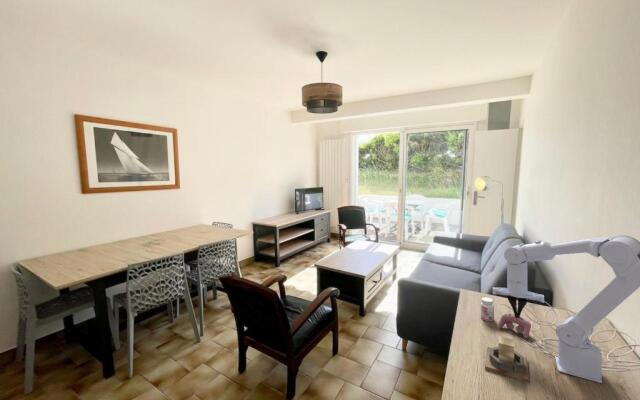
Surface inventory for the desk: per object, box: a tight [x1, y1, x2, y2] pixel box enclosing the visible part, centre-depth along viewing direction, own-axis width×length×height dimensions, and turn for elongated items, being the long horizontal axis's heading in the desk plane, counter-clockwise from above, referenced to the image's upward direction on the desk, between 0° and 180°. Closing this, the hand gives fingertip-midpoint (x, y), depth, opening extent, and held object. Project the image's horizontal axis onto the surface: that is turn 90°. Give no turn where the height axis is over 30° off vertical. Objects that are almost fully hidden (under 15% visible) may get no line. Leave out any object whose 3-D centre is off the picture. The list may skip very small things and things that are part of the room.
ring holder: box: [484, 346, 530, 383], centre depth 86 cm, size 11×11×3 cm
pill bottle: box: [480, 296, 495, 322], centre depth 113 cm, size 5×5×8 cm
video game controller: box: [497, 313, 532, 339], centre depth 104 cm, size 10×5×7 cm, turn 36°
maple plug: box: [498, 335, 515, 364], centre depth 86 cm, size 4×4×7 cm
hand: (517, 316), depth 95 cm, fingers closed
